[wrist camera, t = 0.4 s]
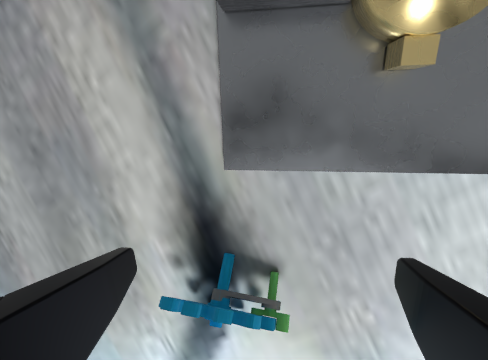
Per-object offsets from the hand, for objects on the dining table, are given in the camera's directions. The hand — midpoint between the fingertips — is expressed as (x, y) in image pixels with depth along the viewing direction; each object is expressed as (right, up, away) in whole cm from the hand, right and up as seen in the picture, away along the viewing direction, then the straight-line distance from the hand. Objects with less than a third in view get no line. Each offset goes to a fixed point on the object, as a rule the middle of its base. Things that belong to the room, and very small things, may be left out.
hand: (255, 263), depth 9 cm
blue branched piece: (-1, -7, +17) cm, 18 cm away
